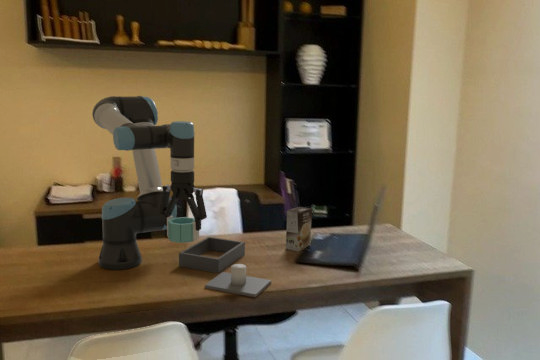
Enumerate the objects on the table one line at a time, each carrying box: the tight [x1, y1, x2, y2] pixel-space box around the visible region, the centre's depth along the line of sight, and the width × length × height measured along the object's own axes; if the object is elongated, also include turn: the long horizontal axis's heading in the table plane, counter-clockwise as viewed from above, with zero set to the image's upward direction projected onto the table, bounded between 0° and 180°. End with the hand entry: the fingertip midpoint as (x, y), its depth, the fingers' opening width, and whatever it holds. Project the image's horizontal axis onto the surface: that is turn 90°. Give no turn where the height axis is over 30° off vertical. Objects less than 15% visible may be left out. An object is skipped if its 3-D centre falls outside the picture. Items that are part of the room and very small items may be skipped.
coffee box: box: [285, 206, 313, 252], centre depth 214 cm, size 9×6×16 cm
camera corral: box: [178, 236, 246, 274], centre depth 198 cm, size 16×22×5 cm
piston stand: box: [204, 263, 272, 298], centre depth 175 cm, size 18×13×6 cm
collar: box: [168, 216, 195, 244], centre depth 174 cm, size 9×9×6 cm
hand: (183, 237), depth 174 cm, fingers closed on collar, 9 cm apart
